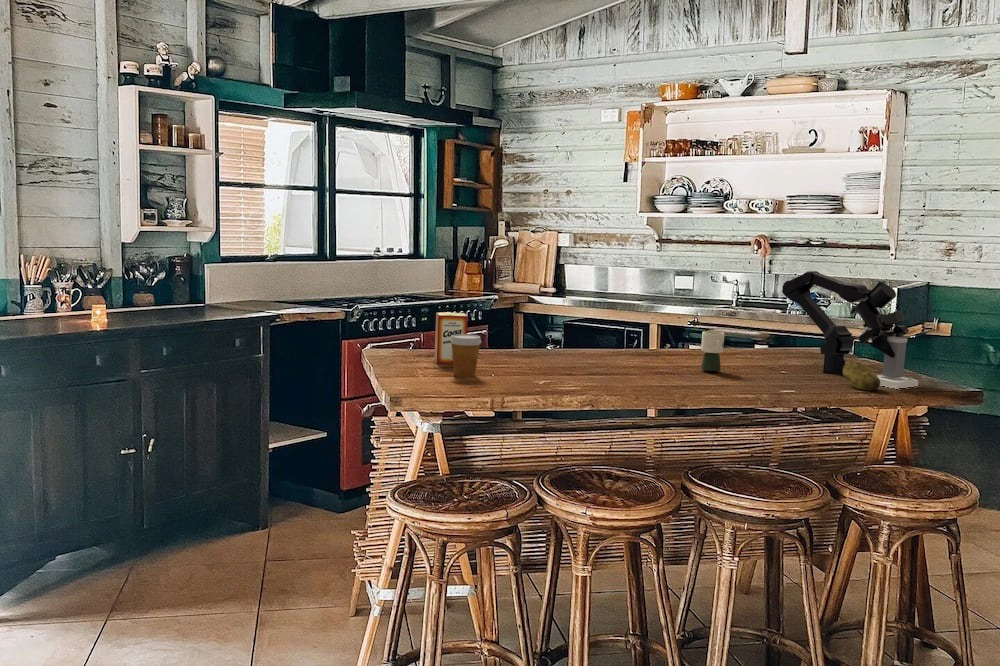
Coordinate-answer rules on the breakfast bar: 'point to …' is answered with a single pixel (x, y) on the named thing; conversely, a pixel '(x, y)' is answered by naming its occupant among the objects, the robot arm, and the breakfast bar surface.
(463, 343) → the disposable coffee cup
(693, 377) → the breakfast bar surface
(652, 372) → the breakfast bar surface
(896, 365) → the grey tall block
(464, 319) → the baking soda box
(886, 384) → the socket
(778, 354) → the breakfast bar surface
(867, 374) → the potato
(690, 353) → the breakfast bar surface
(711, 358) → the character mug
